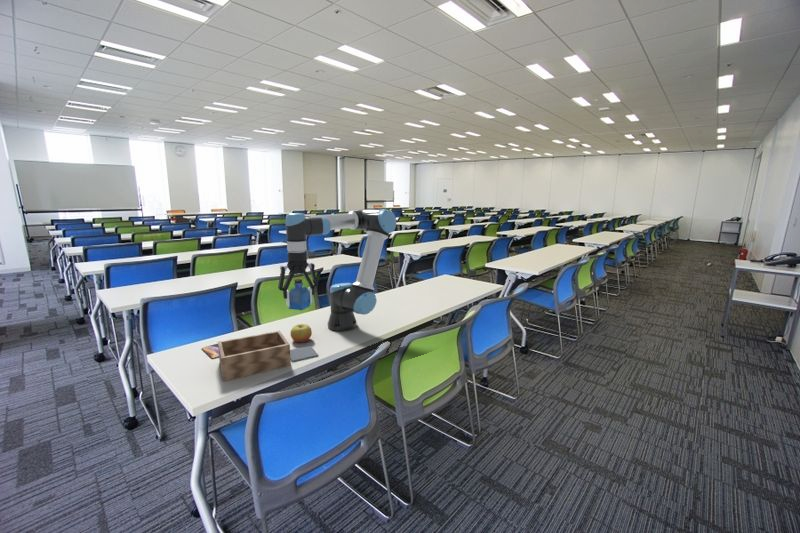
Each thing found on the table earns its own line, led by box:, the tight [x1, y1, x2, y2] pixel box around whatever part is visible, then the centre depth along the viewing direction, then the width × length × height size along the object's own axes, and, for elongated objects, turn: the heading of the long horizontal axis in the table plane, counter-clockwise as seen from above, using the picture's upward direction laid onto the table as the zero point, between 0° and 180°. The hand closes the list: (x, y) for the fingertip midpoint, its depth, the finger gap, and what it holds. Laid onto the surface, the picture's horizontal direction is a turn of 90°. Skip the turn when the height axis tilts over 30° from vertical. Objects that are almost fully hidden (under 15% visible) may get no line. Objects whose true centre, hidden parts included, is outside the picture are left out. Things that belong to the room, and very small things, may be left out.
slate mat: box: [290, 345, 319, 363], centre depth 148 cm, size 11×11×1 cm
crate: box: [217, 330, 292, 382], centre depth 138 cm, size 24×17×9 cm
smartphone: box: [201, 343, 219, 360], centre depth 150 cm, size 8×1×15 cm
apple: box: [290, 323, 313, 344], centre depth 162 cm, size 10×10×8 cm
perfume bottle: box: [288, 278, 311, 311], centre depth 143 cm, size 6×6×12 cm
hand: (299, 304), depth 144 cm, fingers closed on perfume bottle, 9 cm apart
